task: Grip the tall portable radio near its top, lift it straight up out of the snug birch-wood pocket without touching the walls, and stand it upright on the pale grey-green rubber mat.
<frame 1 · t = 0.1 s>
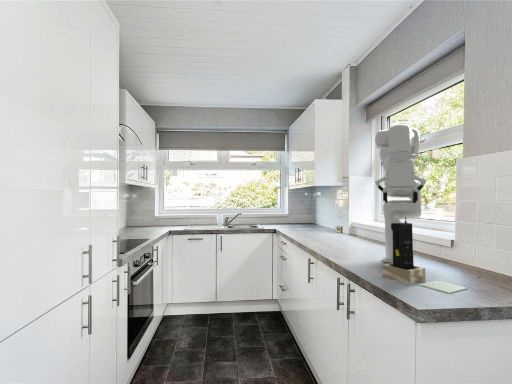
hand: (400, 203, 111), 31 cm above the countertop, tool pointing down, fingers open, 9 cm apart
wooden pocket: (403, 278, 119), on the countertop
portable radio: (402, 279, 119), resting in wooden pocket
rubber mat: (442, 287, 108), on the countertop
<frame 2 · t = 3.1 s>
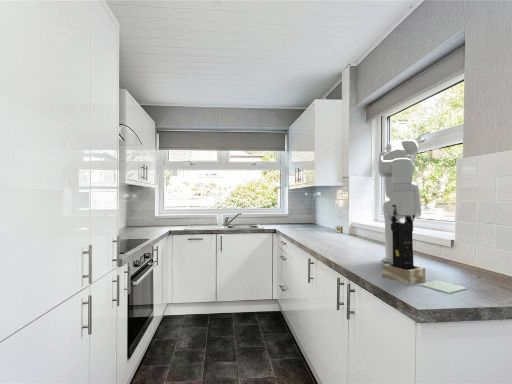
hand: (402, 231, 120), 19 cm above the countertop, tool pointing down, fingers closed on portable radio, 7 cm apart
portable radio: (402, 279, 119), resting in wooden pocket, touching gripper
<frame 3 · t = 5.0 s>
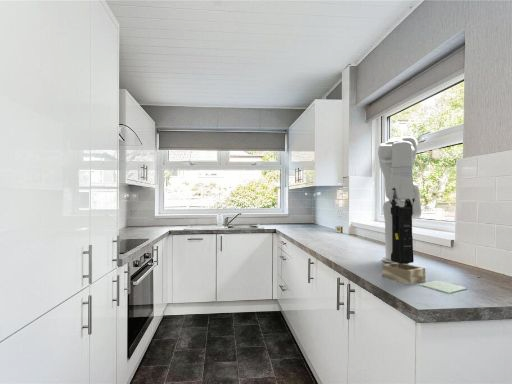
hand: (402, 214, 120), 26 cm above the countertop, tool pointing down, fingers closed on portable radio, 7 cm apart
portable radio: (401, 262, 120), point 6 cm above the countertop, touching gripper
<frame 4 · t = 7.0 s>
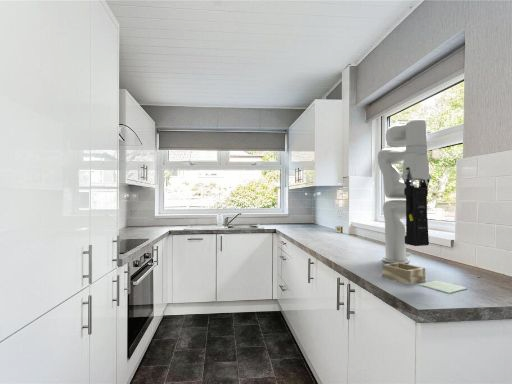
hand: (416, 195, 115), 34 cm above the countertop, tool pointing down, fingers closed on portable radio, 7 cm apart
portable radio: (416, 245, 115), point 14 cm above the countertop, touching gripper
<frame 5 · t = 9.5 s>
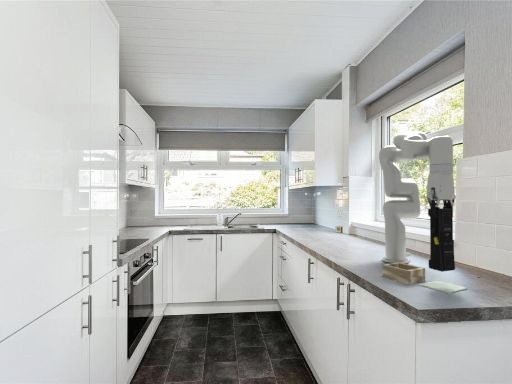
hand: (441, 217, 109), 26 cm above the countertop, tool pointing down, fingers closed on portable radio, 7 cm apart
portable radio: (441, 270, 108), point 6 cm above the countertop, touching gripper
when the fingers open (21 cm above the countertop, at t = 11.3 s): portable radio stays where it is, resting on rubber mat.
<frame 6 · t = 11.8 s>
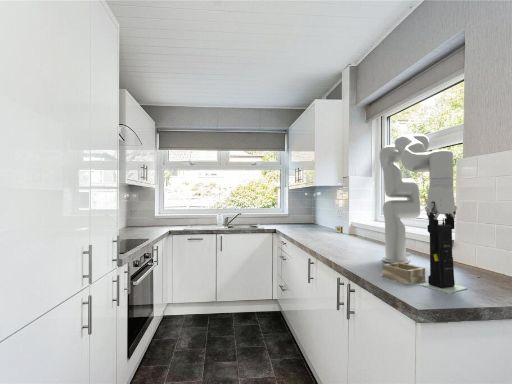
hand: (441, 229, 109), 21 cm above the countertop, tool pointing down, fingers open, 9 cm apart
portable radio: (440, 286, 108), resting on rubber mat
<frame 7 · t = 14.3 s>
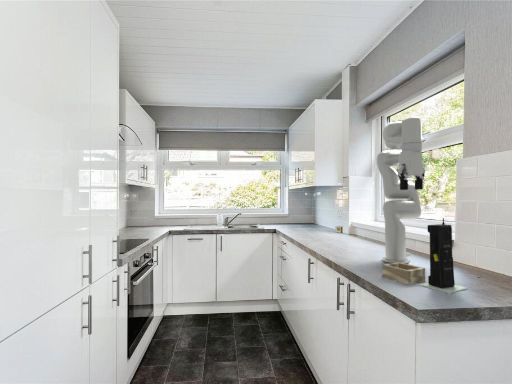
hand: (411, 189, 120), 36 cm above the countertop, tool pointing down, fingers open, 9 cm apart
nothing on the countertop moved.
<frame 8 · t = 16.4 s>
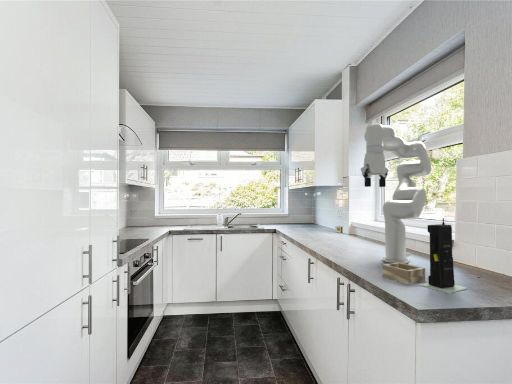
hand: (375, 186, 138), 38 cm above the countertop, tool pointing down, fingers open, 9 cm apart
nothing on the countertop moved.
at the end: portable radio inside the target area (0.7 cm from its centre), resting on rubber mat; portable radio tilted 0°; the gripper is holding nothing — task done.
